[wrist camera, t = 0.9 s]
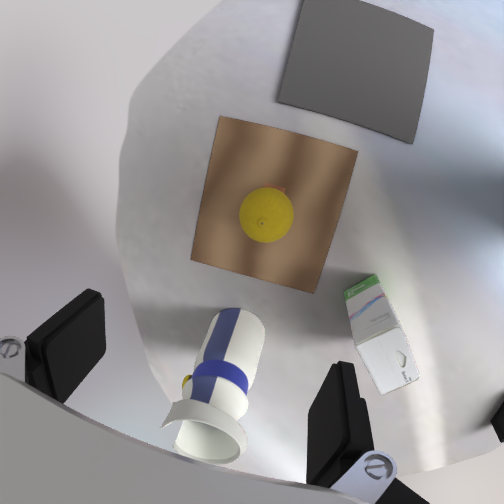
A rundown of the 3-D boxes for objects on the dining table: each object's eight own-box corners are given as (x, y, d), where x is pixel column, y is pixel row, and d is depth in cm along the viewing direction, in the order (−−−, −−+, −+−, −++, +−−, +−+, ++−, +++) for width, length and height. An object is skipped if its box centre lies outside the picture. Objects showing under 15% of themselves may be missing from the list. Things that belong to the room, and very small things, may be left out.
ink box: (398, 322, 38) (425, 378, 27) (365, 339, 40) (382, 399, 29) (375, 272, 36) (402, 321, 25) (339, 291, 38) (353, 346, 27)
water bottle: (218, 360, 44) (162, 507, 21) (199, 311, 42) (115, 459, 18) (272, 354, 42) (245, 517, 19) (258, 302, 40) (212, 473, 16)
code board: (357, 151, 32) (358, 151, 32) (313, 292, 39) (313, 293, 38) (220, 116, 33) (220, 115, 33) (191, 259, 39) (190, 259, 39)
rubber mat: (432, 31, 25) (433, 29, 25) (411, 144, 31) (413, 144, 30) (307, -11, 26) (307, -14, 26) (278, 102, 32) (277, 101, 31)
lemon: (283, 176, 34) (279, 184, 27) (300, 221, 36) (301, 241, 28) (238, 193, 36) (222, 206, 28) (256, 237, 37) (246, 260, 29)
